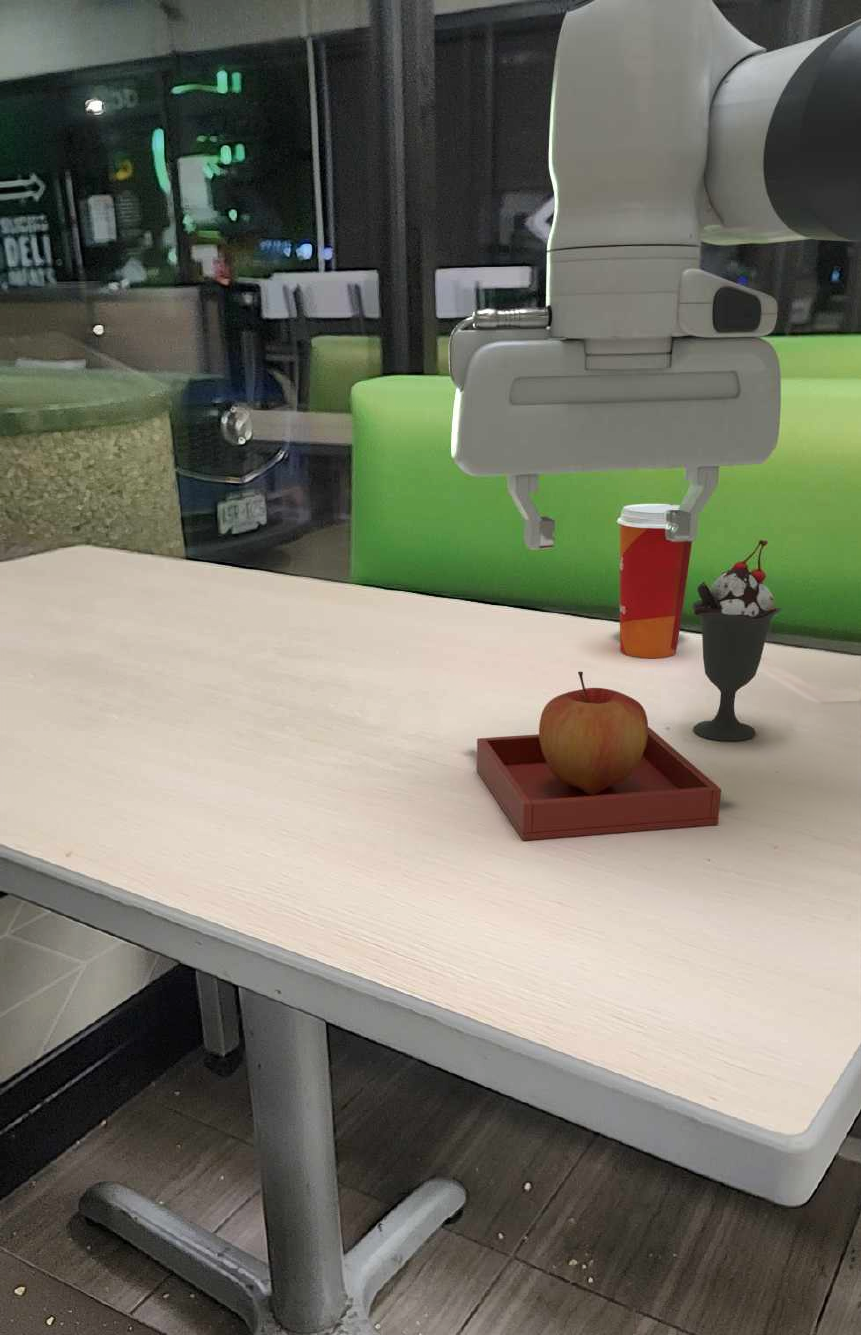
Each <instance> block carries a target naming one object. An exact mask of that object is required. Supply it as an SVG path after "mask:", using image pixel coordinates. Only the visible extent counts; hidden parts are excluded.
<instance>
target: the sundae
mask: <svg viewBox="0 0 861 1335" xmlns="http://www.w3.org/2000/svg"><path fill="white" fill-rule="evenodd" d="M768 543H769V542H768V540H762V539H760V540H759V541H758V544H757V546H756V548H755V550H753V552H752V553H751V554H749V556H747V557H746V558H745V559H744V560H743V561H736V562H734V565H733V566H732V568H731V569H729V570H727V571H724V572H721V574H720V575H719V576H718V577H717V578H716V579H715V580H714V581H713V582H712V585H711V589H710V588H709V587H708V585H707V584H706V582H705V581H703V582H701V584H700V585H698V587H697V588H696V590H697V592H698V596H699V598H700V599H699V600H695V601H694V602H693V603H692V609H693V610H692V611H693V612H694V615H695V616H698V617H700V624H701V625H700V626H701V636H702V637H701V638H702V659H703V667H704V668H703V669H704V674H705V676H706V677H707V678H708V680H709V681H710V683H712V684H713V685H714V686H715V687H716V688H717V689H718V691H719V692H720V698H719V706H718V709H717V713H716V715H715V716H714V717H713V719H711V720H710V719H709V720H702V721H699V722H698V723H696V724H695V725H694V726H693V727H692V731H693V732H694V733H695V734H696V735H697V736H699V737H701V738H702V737H703V738H705V739H707V740H713V741H720V742H741V741H747V740H749V739H752V738H753V737H755V736H756V735H757V732H756V731H757V730H755V728H754V727H753V726H751V725H749V724H747V723H743V722H740V721H739V720H738V718H737V716H736V713H735V712H736V710H735V700H736V693H737V692H738V691H739V690H740V689H741V688H743V687H745V686H746V685H748V683H750V682H751V681H752V680H753V679H754V678H755V676H756V674H757V672H758V669H759V666H760V663H761V660H762V656H763V651H764V647H765V644H766V639H767V635H768V631H769V628H770V625H771V621H772V618H773V617H774V615H776V614H778V613H779V612H781V611H782V608H781V607H776V606H775V604H774V603H775V602H774V597H773V596H774V595H773V594H772V592H771V591H770V589H769V588H768V586H767V585H765V583H763V582H765V580H766V577H767V575H766V572H765V571H764V570H762V568H761V555H762V552H763V548H764V547H766V546H767V545H768ZM760 546H761V547H760ZM759 547H760V549H759ZM758 549H759V553H758V556H757V557H758V558H757V568H753V569H752V570H751V571H750V570H749V565H748V563H747V562H748V561H749V560H750V559H751V558H752V556H754V554H755V553H756V552H757V550H758Z"/></svg>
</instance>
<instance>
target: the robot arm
mask: <svg viewBox="0 0 861 1335" xmlns="http://www.w3.org/2000/svg"><path fill="white" fill-rule="evenodd" d="M557 40H558V42H557V46H556V52H555V59H554V65H553V73H552V75H553V76H552V86H551V98H550V112H549V133H548V134H549V136H548V138H549V140H548V145H549V146H548V171H549V175H550V180H551V183H552V184H551V185H552V189H553V197H554V213H553V221H552V224H551V228H550V232H549V235H548V239H547V246H546V284H545V287H546V288H545V295H546V296H545V306H537V307H534V306H533V307H518V308H509V309H498V308H491V307H490V308H480V309H476V310H474V311H473V313H472V316H468V317H466V318H464V319H463V320H460V322H458V324H457V325H456V326H455V327H454V328H453V330H452V332H451V333H450V338H449V342H448V371H449V376H450V380H451V381H452V383H453V385H454V386H455V388H456V390H455V398H454V405H453V413H452V425H451V441H450V442H451V444H450V446H451V447H450V448H451V449H450V450H451V451H450V452H451V458H452V460H453V461H454V463H455V465H456V466H457V467H458V468H459V469H460V470H461V471H463V473H464V474H466V475H469V476H471V477H476V478H477V477H501V476H503V477H504V476H507V492H508V493H509V494H510V497H511V498H512V500H513V503H514V504H515V506H516V508H517V509H518V511H519V513H520V515H521V517H522V518H523V519H524V545H525V547H526V548H527V549H528V550H535V551H536V550H546V549H547V550H548V549H554V546H555V537H554V536H553V534H554V533H555V530H556V529H555V528H556V526H555V525H556V523H555V520H554V519H553V518H550V517H549V516H541V515H540V513H539V510H538V509H537V507H536V506H535V504H534V501H533V499H532V498H531V496H530V494H537V492H539V475H547V474H569V473H590V472H593V473H594V472H613V471H615V472H617V471H638V470H659V469H661V470H663V469H682V468H683V469H684V481H685V482H687V483H690V484H691V485H690V487H689V488H688V490H687V491H686V494H685V496H684V497H683V499H682V501H681V503H680V504H679V505H680V507H679V508H678V509H679V510H668V511H666V522H667V524H668V525H667V526H666V528H665V535H666V538H667V539H668V540H671V541H673V542H678V541H692V542H695V541H696V539H697V536H698V524H699V514H700V513H701V512H702V511H703V509H704V507H705V506H706V505H707V503H708V501H709V499H710V498H711V496H712V495H713V493H714V492H715V491H716V488H717V487H718V485H719V474H720V473H719V472H720V467H728V466H730V467H732V466H752V465H763V464H764V463H765V462H767V460H768V459H769V458H770V456H771V455H772V454H773V452H774V451H775V449H776V448H777V445H778V441H779V435H780V424H781V421H780V420H781V409H782V408H781V405H782V402H781V400H782V382H781V381H782V380H781V379H782V376H781V366H780V360H779V356H778V354H777V351H776V349H775V348H774V346H772V344H771V343H770V342H769V341H767V340H766V339H764V338H762V337H765V336H768V335H769V334H771V333H772V332H773V330H774V329H775V327H776V324H777V318H778V302H777V301H776V299H775V298H774V297H773V296H771V295H770V294H767V293H765V292H763V291H759V290H756V289H754V288H751V287H748V286H745V285H742V284H740V283H737V282H734V281H732V280H729V279H726V278H723V277H721V276H718V275H716V274H713V273H711V272H709V271H708V272H707V271H705V270H703V269H701V268H700V263H701V250H702V249H701V247H702V242H703V243H706V244H711V245H716V246H733V245H734V246H735V245H744V244H771V243H772V244H775V243H783V242H793V241H804V240H817V241H838V242H860V243H861V18H860V19H858V20H856V21H854V22H852V23H850V24H848V25H845V26H843V27H842V28H839V29H837V30H834V31H832V32H830V33H827V34H824V35H822V36H819V37H815V38H812V39H808V40H806V41H802V42H799V43H795V44H792V45H788V46H785V47H782V48H778V49H775V50H772V51H768V52H767V48H765V47H763V46H761V45H758V44H757V43H755V42H753V41H752V40H751V39H749V38H747V36H745V35H744V34H743V33H741V32H740V31H739V30H738V29H737V28H736V27H735V26H734V25H732V23H731V22H729V20H728V19H727V18H726V17H725V16H724V15H723V13H722V12H721V11H720V9H719V8H718V7H717V5H716V4H715V2H714V1H713V0H574V2H573V3H572V4H571V5H570V7H568V10H566V12H565V16H564V18H563V21H562V24H561V28H560V31H559V35H558V39H557ZM471 325H472V326H473V328H474V329H466V328H467V327H469V326H471ZM508 328H509V329H508ZM465 329H466V330H465Z"/></svg>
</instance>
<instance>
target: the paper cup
mask: <svg viewBox="0 0 861 1335" xmlns="http://www.w3.org/2000/svg"><path fill="white" fill-rule="evenodd" d="M680 505H681V504H672V505H671V503H635V504H628V505H625V506H623V507H622V509H621V513H620V517H618V518H617V520H616V523H617V524H619V647H620V652H621V654H624V655H625V656H626V655H627V656H629V657H633V658H634V657H635V658H641V659H662V658H667V657H671V656H674V655H675V654H676V652H677V648H678V644H679V637H680V630H681V623H682V618H683V617H682V616H683V610H684V602H685V594H686V589H687V588H686V587H687V581H688V573H689V566H690V558H691V551H692V544H693V541H678V542H673V541H671V540H668V539H667V538H666V535H665V528H666V526H667V525H668V524H667V522H666V511H668V510H679V509H678V508H679V507H680Z"/></svg>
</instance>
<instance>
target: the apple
mask: <svg viewBox="0 0 861 1335" xmlns="http://www.w3.org/2000/svg"><path fill="white" fill-rule="evenodd" d="M577 674H578V677H579V680H580V684H581V688H582V689H581V688H580V689H576V690H572V691H568V692H565V693H561V694H560V695H557V696H555V697H553V698H552V699H551V700H549V701H548V702H547V703H546V704H545V706H544V708H543V710H542V712H541V715H540V719H539V725H538V727H539V728H538V734H539V739H540V744H541V748H542V752H543V755H544V757H545V760H546V762H547V764H548V766H549V768H550V769H551V771H552V772H553V774H554V775H555V776H556V777H557V778H558V779H559V780H560V781H561V782H563V783H564V784H566V785H568V786H570V787H578V788H580V789H582V790H583V791H585V792H586V793H587V794H589V795H596V794H597V793H599V792H601V791H602V790H604V789H606V788H608V787H611V786H614V785H616V784H618V783H620V782H622V781H624V780H625V779H626V778H628V777H629V776H630V775H631V774H632V772H633V771H634V770H635V768H636V767H637V765H638V763H639V761H640V759H641V757H642V755H643V753H644V750H645V747H646V743H647V738H648V727H649V721H648V715H647V713H646V710H645V708H644V707H643V705H642V704H641V703H640V702H639V701H638V700H636V699H635V698H633V697H631V696H629V695H627V694H625V693H622V692H620V691H617V690H614V689H609V688H604V687H585V682H584V678H583V674H584V671H578V672H577Z"/></svg>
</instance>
